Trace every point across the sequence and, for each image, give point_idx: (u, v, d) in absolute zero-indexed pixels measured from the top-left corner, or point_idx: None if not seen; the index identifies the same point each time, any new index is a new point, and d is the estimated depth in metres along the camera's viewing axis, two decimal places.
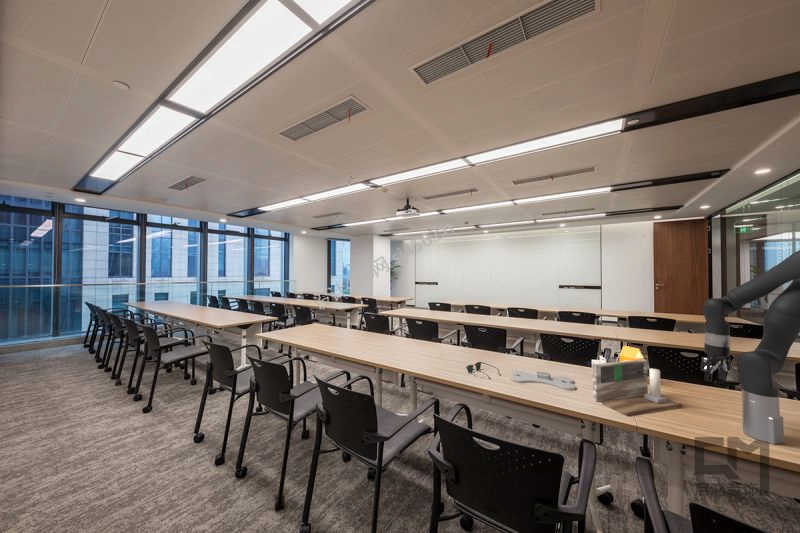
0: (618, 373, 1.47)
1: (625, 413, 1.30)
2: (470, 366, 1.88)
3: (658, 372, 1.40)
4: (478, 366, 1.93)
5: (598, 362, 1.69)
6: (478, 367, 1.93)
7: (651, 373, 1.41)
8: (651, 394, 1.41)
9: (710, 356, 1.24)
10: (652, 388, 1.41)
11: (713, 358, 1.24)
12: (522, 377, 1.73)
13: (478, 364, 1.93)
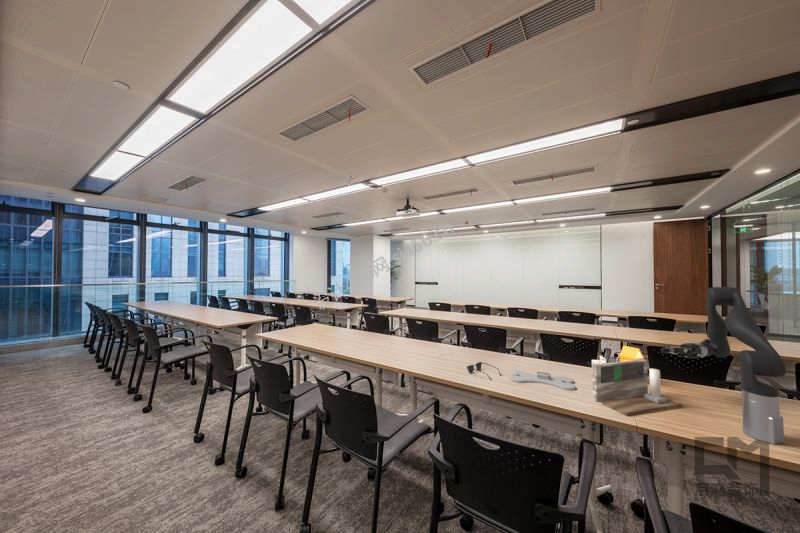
0: (618, 373, 1.47)
1: (625, 413, 1.30)
2: (471, 366, 1.87)
3: (658, 372, 1.40)
4: (479, 366, 1.93)
5: (598, 362, 1.69)
6: (479, 367, 1.92)
7: (651, 373, 1.41)
8: (651, 394, 1.41)
9: None
10: (652, 388, 1.41)
11: None
12: (522, 377, 1.73)
13: (479, 364, 1.93)
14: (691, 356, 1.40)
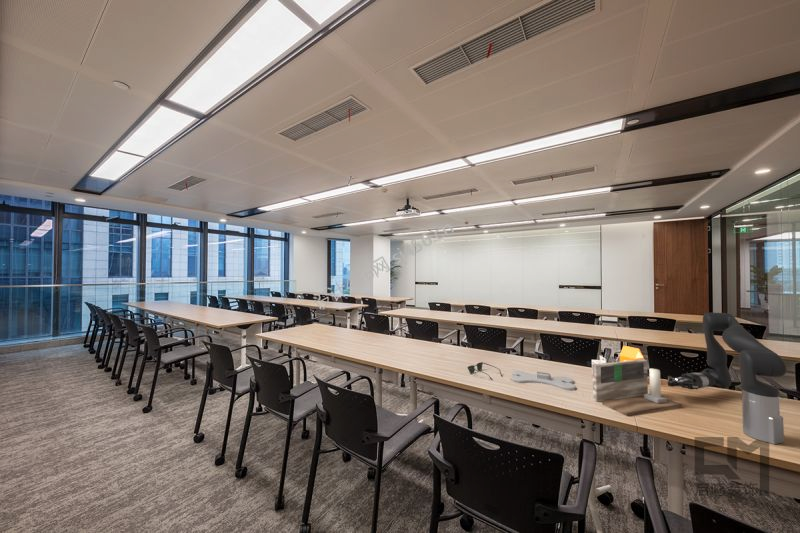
0: (618, 373, 1.47)
1: (625, 413, 1.30)
2: (471, 366, 1.87)
3: (658, 372, 1.40)
4: (480, 366, 1.92)
5: (598, 362, 1.69)
6: (479, 367, 1.92)
7: (651, 373, 1.41)
8: (651, 394, 1.41)
9: None
10: (652, 388, 1.41)
11: (676, 377, 1.51)
12: (522, 377, 1.73)
13: (479, 364, 1.92)
14: (683, 386, 1.43)
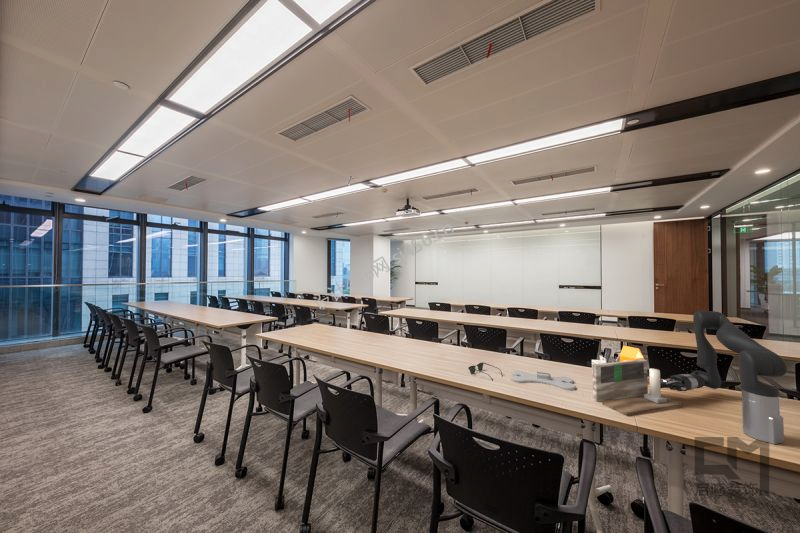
0: (618, 373, 1.47)
1: (625, 413, 1.30)
2: (472, 367, 1.86)
3: (658, 372, 1.40)
4: (480, 366, 1.92)
5: (598, 362, 1.69)
6: (480, 368, 1.91)
7: (651, 373, 1.41)
8: (651, 394, 1.41)
9: None
10: (652, 388, 1.41)
11: None
12: (522, 377, 1.73)
13: (480, 365, 1.92)
14: (671, 388, 1.40)
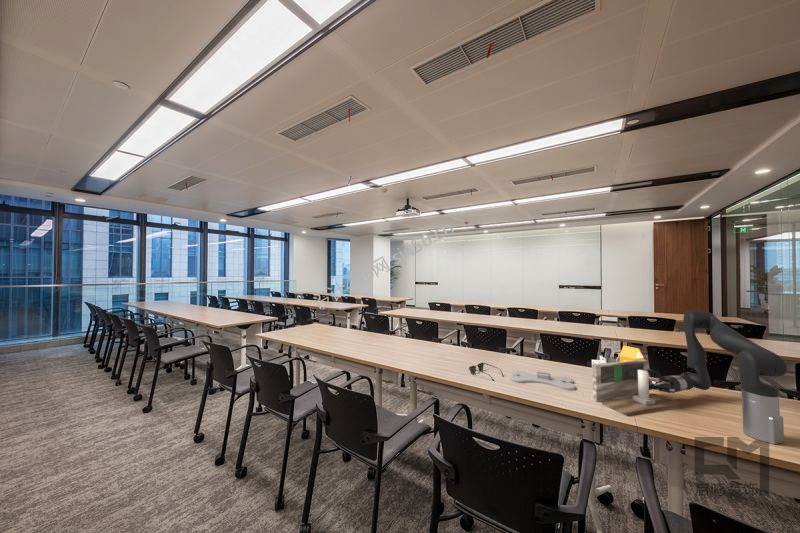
0: (618, 373, 1.47)
1: (625, 413, 1.30)
2: (473, 367, 1.86)
3: (646, 373, 1.38)
4: (481, 367, 1.92)
5: (598, 362, 1.69)
6: (481, 368, 1.91)
7: (639, 374, 1.39)
8: (639, 396, 1.39)
9: None
10: (641, 389, 1.39)
11: (654, 380, 1.47)
12: (522, 377, 1.73)
13: (481, 365, 1.91)
14: (659, 389, 1.39)
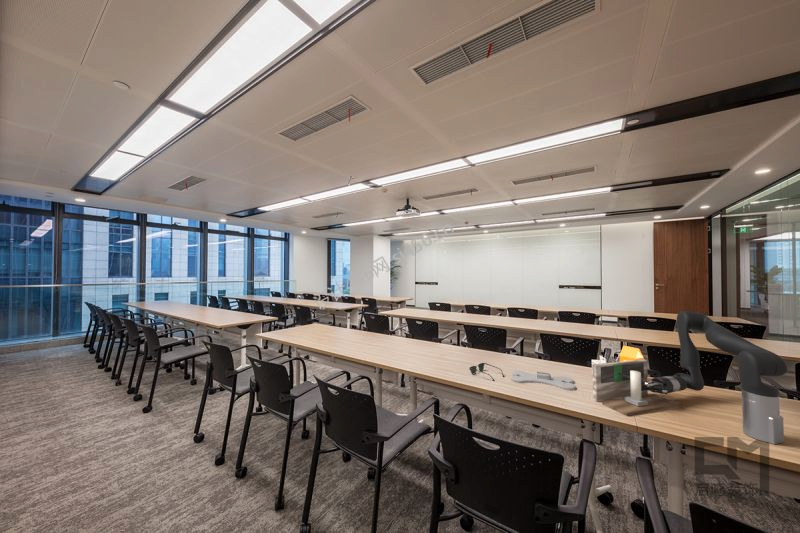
0: (618, 373, 1.47)
1: (625, 413, 1.30)
2: (473, 367, 1.86)
3: (639, 374, 1.37)
4: (481, 367, 1.91)
5: (598, 362, 1.69)
6: (481, 368, 1.91)
7: (632, 375, 1.38)
8: (632, 397, 1.38)
9: None
10: (633, 390, 1.38)
11: (647, 381, 1.46)
12: (522, 377, 1.73)
13: (481, 365, 1.91)
14: (652, 390, 1.37)
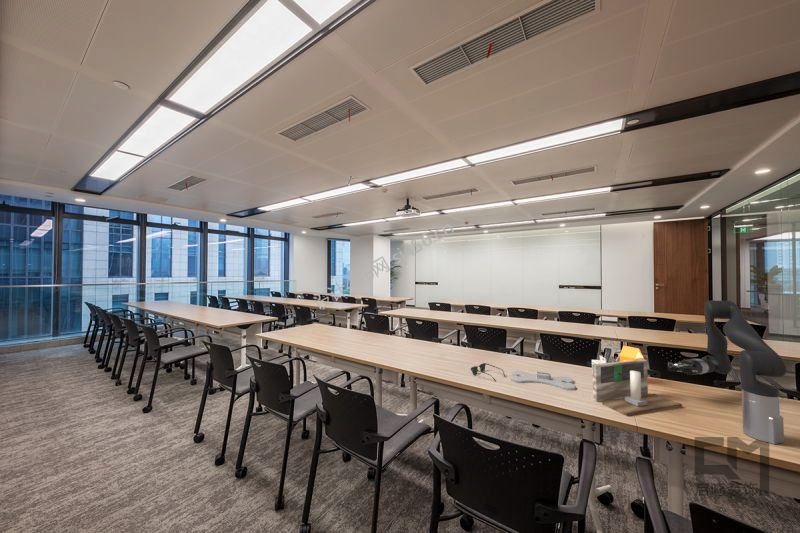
0: (618, 373, 1.47)
1: (625, 413, 1.30)
2: (474, 367, 1.85)
3: (639, 374, 1.37)
4: (483, 367, 1.90)
5: (598, 362, 1.69)
6: (482, 368, 1.90)
7: (632, 375, 1.38)
8: (632, 397, 1.38)
9: None
10: (633, 390, 1.38)
11: (676, 363, 1.51)
12: (522, 377, 1.73)
13: (482, 365, 1.90)
14: (682, 370, 1.42)
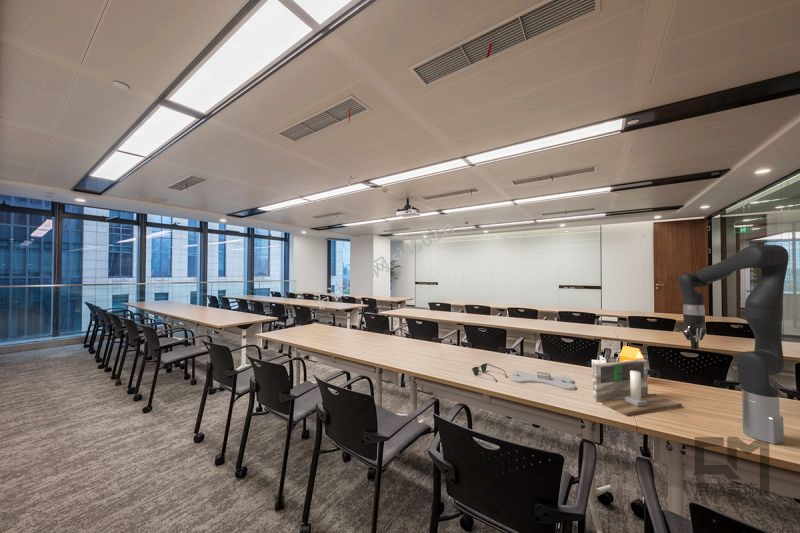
0: (618, 373, 1.47)
1: (625, 413, 1.30)
2: (476, 368, 1.84)
3: (639, 374, 1.37)
4: (484, 368, 1.90)
5: (598, 362, 1.69)
6: (484, 369, 1.89)
7: (632, 375, 1.38)
8: (632, 397, 1.38)
9: (688, 324, 1.40)
10: (633, 390, 1.38)
11: (691, 327, 1.39)
12: (522, 377, 1.73)
13: (484, 366, 1.90)
14: None
